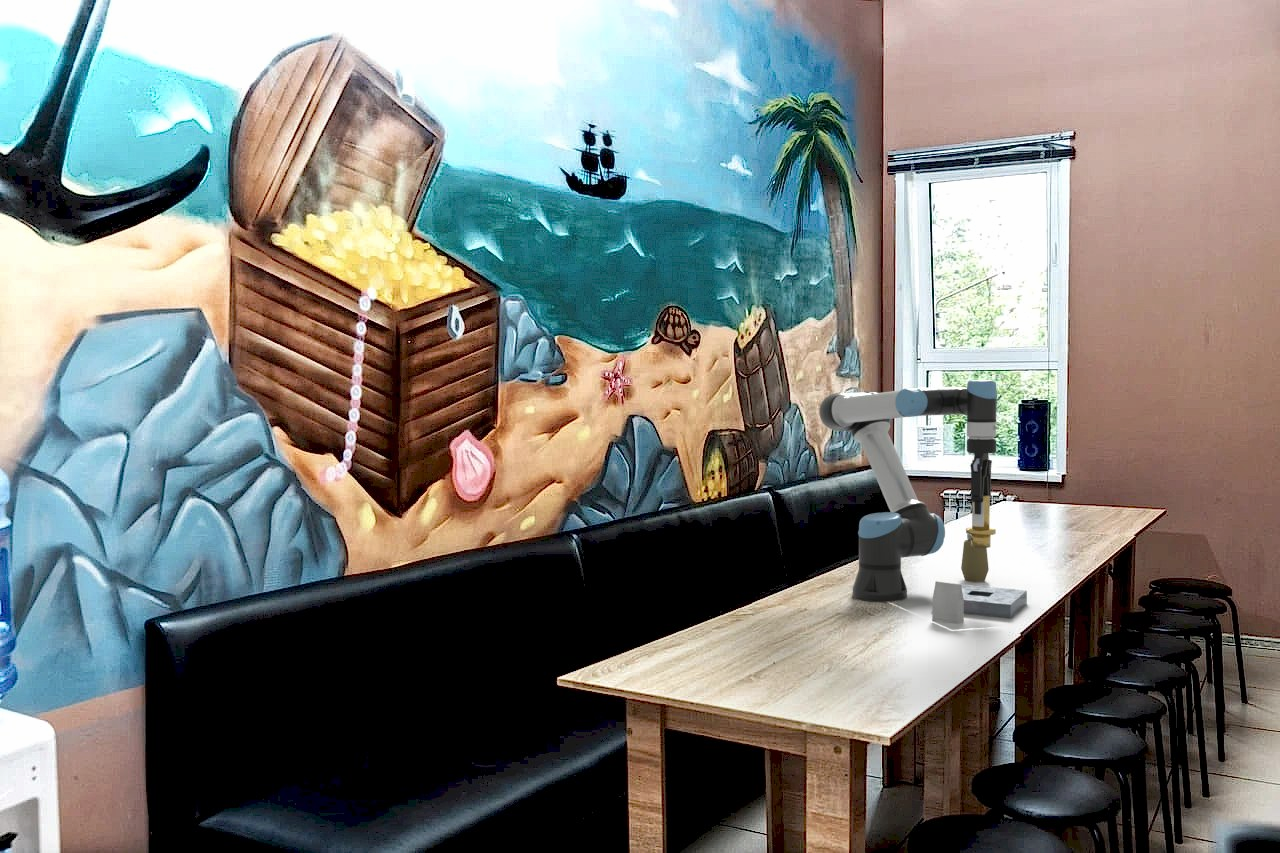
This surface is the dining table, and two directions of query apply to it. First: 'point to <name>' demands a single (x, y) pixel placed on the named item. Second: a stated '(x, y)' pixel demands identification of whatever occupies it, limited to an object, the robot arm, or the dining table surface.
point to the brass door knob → (982, 528)
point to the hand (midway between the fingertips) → (980, 524)
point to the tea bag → (948, 602)
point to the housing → (993, 601)
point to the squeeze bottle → (974, 562)
